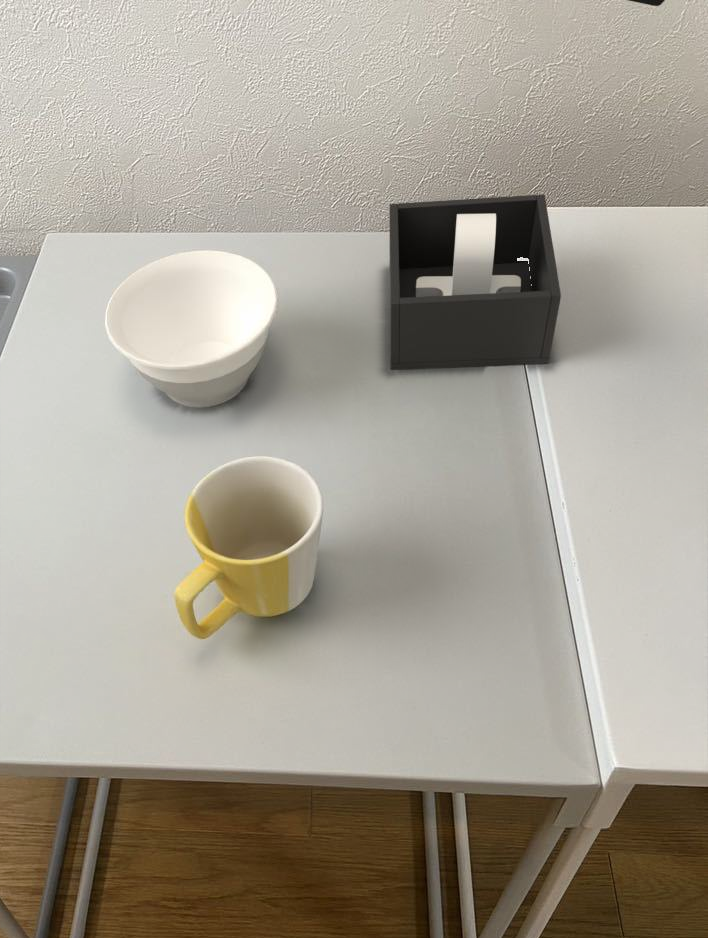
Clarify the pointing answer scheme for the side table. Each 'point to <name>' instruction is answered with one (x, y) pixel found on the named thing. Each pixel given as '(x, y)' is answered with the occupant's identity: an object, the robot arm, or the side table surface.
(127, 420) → the side table surface
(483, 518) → the side table surface
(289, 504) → the mug
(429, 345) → the basket
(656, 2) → the robot arm
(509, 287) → the cable organizer
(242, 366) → the bowl
